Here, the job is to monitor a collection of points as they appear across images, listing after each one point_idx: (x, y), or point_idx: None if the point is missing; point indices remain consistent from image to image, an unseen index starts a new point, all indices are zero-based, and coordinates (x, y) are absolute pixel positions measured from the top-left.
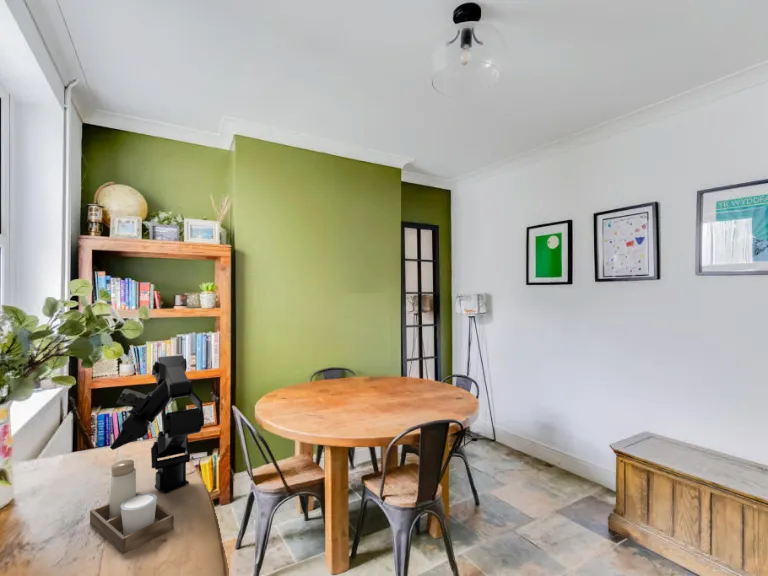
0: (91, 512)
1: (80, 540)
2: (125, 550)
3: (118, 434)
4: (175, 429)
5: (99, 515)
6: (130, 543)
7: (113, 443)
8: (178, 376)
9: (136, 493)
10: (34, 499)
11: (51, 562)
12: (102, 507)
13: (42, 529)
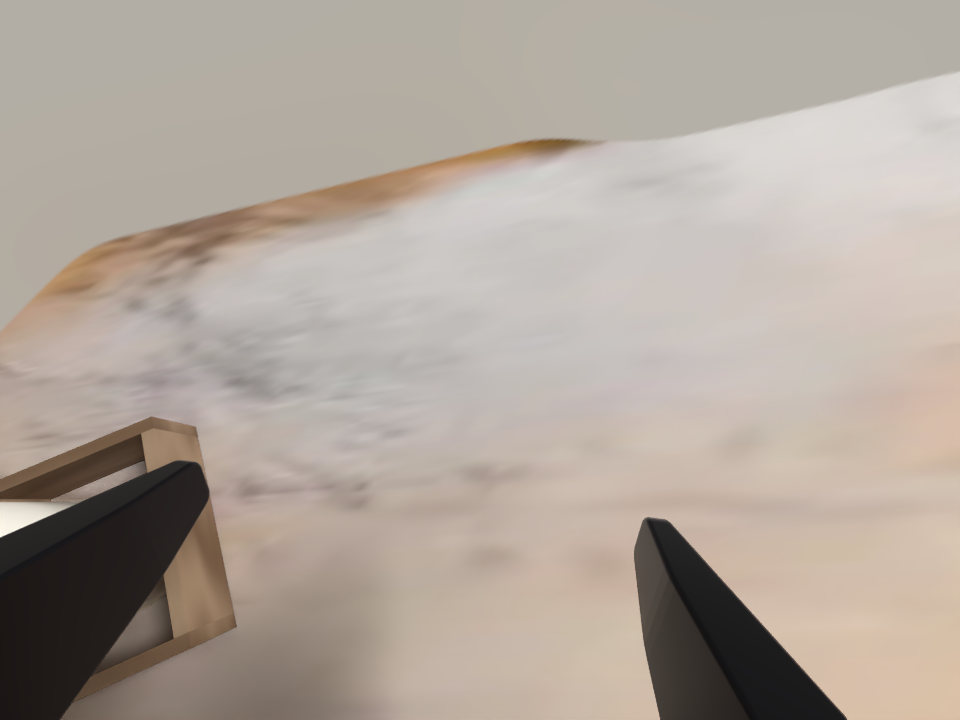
0: (136, 425)
1: (87, 412)
2: None
3: (650, 527)
4: None
5: (65, 463)
6: None
7: (93, 501)
8: None
9: (176, 636)
10: (569, 198)
11: (17, 349)
12: (148, 467)
13: (274, 278)
